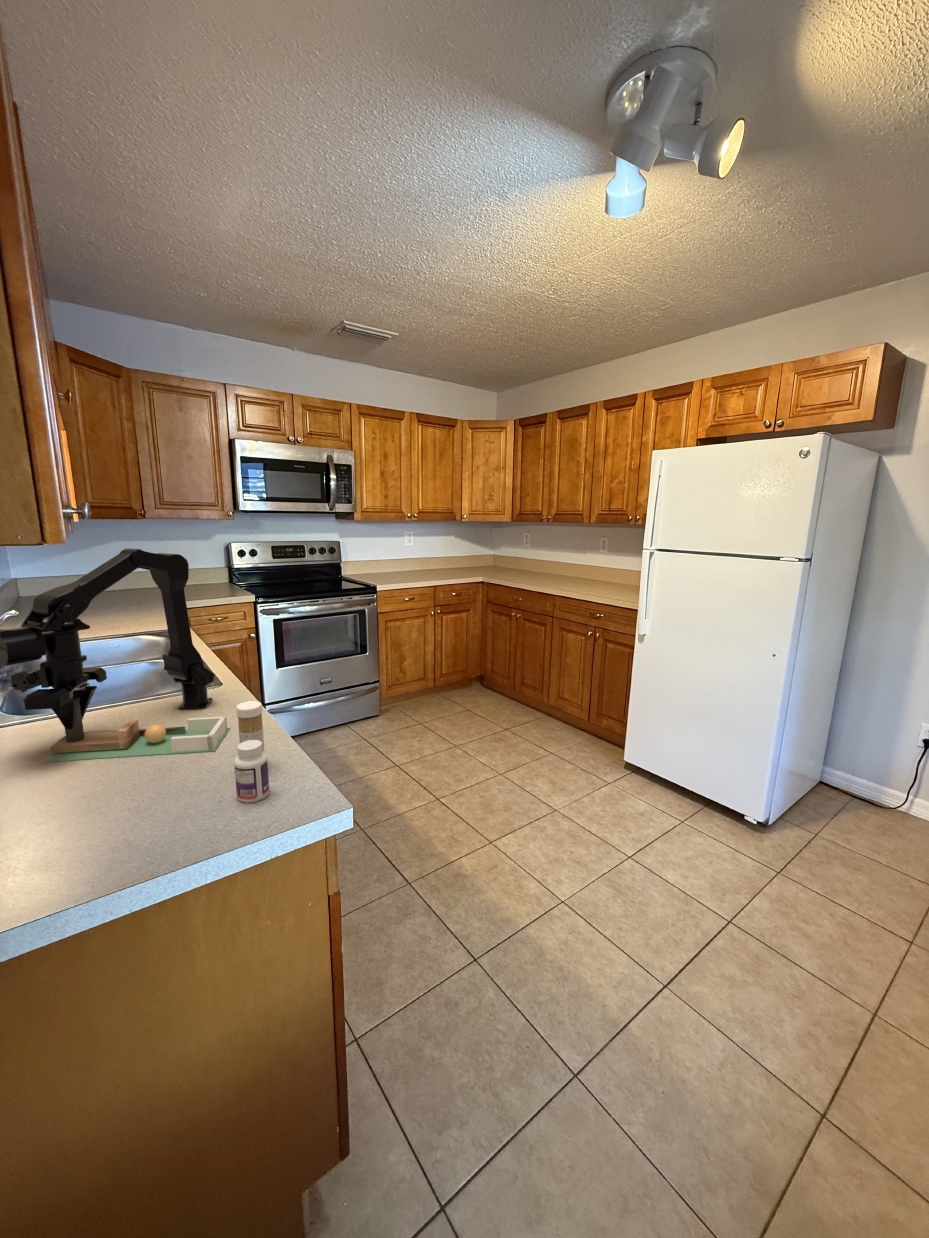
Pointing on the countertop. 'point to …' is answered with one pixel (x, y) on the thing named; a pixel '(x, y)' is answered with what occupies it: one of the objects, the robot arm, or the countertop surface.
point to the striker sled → (96, 738)
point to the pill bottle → (251, 772)
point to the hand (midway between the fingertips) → (73, 725)
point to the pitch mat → (131, 749)
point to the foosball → (155, 733)
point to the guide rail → (168, 730)
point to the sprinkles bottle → (250, 721)
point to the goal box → (200, 741)
